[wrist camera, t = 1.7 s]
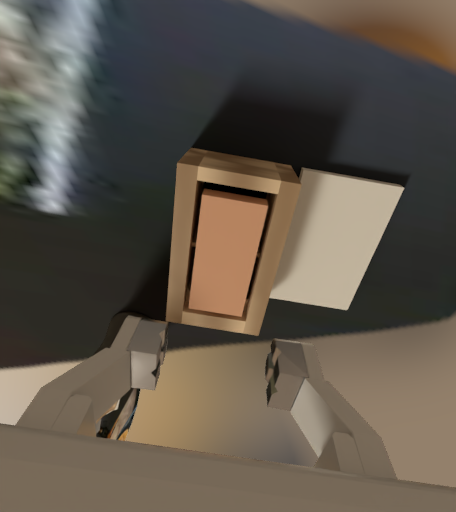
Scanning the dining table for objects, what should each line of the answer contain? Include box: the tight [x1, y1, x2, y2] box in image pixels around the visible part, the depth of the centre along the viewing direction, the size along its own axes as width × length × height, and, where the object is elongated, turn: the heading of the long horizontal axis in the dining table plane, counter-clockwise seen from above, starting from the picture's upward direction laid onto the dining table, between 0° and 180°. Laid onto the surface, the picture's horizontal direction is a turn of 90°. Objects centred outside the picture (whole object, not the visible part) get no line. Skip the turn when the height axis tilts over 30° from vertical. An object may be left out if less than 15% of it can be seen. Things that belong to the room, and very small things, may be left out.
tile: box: [189, 189, 268, 317], centre depth 26 cm, size 5×11×3 cm, turn 171°
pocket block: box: [166, 148, 302, 335], centre depth 27 cm, size 9×15×6 cm, turn 171°
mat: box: [269, 167, 404, 310], centre depth 30 cm, size 9×14×1 cm, turn 171°
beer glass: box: [91, 311, 149, 441], centre depth 31 cm, size 7×7×15 cm
